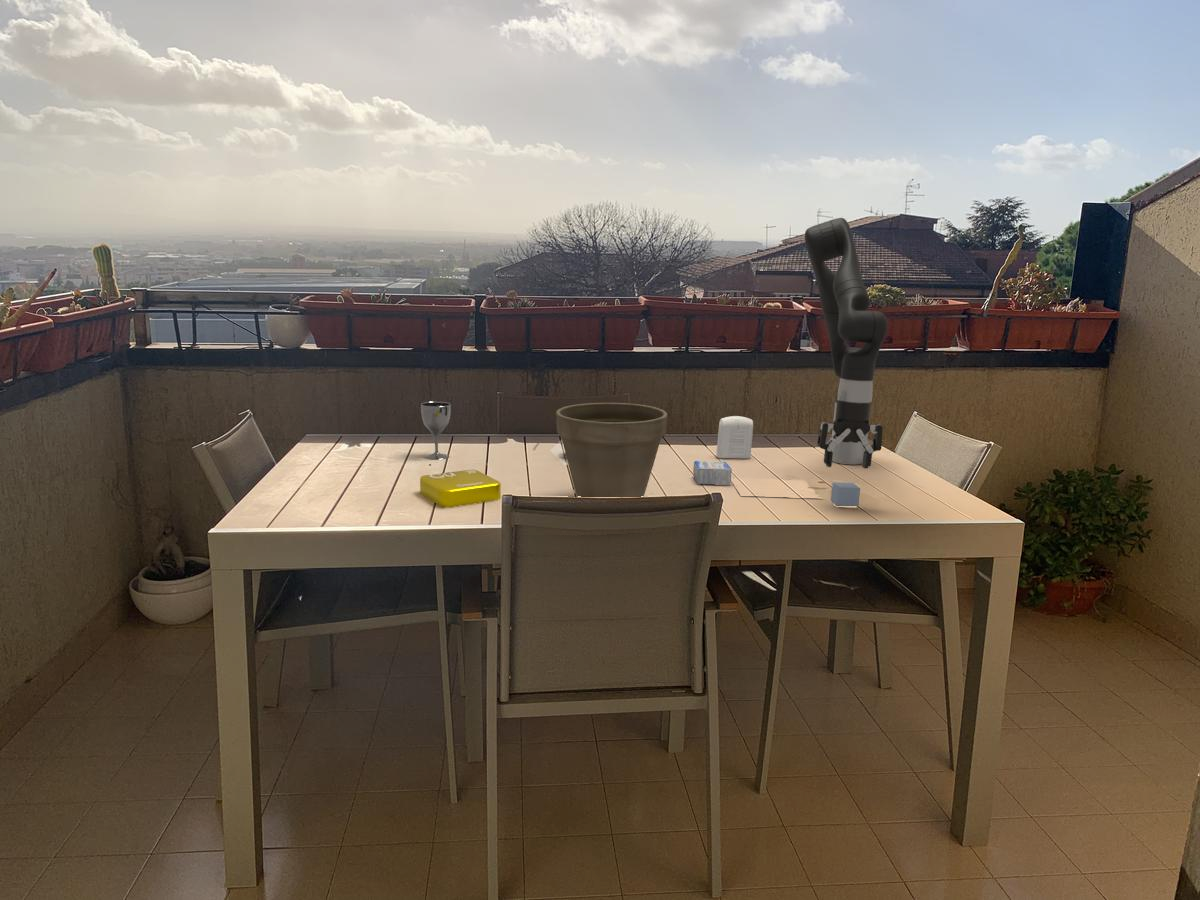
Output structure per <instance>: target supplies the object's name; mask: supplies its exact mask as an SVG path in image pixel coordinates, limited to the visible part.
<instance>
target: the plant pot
mask: <svg viewBox="0 0 1200 900" xmlns="http://www.w3.org/2000/svg"><path fill="white" fill-rule="evenodd" d="M555 417H556V419H555V420H556V432H557V434H558V435H559V436H560V437H561V441H562V445H563V449H564V452H565V453H564V454H565V457H566V460H567V461H566V462H567V463H568V464H567V465H568V469H569V473H570V477H571V480H572V484H573V488H574V491H575V495H576V497H577V496H581V497H641V496H644V497H645V493H646V490H647V487H648V483H649V480H650V477H651V474H652V471H653V467H654V464H655V460H656V458H657V454H658V450H659V447H660V444H661V439H662V438H663V437H664V436H665V435H666V431H667V422H668V413H667V411H665V410H664V409H661V408H658V407H654V406H653V405H652V406H651V405H645V404H637V403H625V402H589V403H577V404H573V405H567V406H563V407H561V408H559V409H557V410H556V412H555Z"/></svg>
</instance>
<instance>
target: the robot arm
mask: <svg viewBox="0 0 1200 900" xmlns="http://www.w3.org/2000/svg"><path fill="white" fill-rule="evenodd" d="M804 242H805V243H804V244H805V247H806V250H807V254H808V257H809V261H810V264H811V268H812V270H813V273H814V277H815V280H816V284H817V285H816V286H817V289H818V294H819V299H820V305H821V310H822V314H823V318H824V322H825V325H826V330H827V335H828V339H829V346H830V353H831V361H832V362H831V363H832V367H833V368H832V369H833V371H834V374H835V376H836V377H838V378H840V379H839V384H838V391H837V393H836V395H835V403H834V410H833V411H834V413H833V422H831V423H830V422H825V421H821V422H820V423H819V430H818V436H817V441H816V445H817V447H818V448H820V449H823V450H824V453H823V454H824V456H823V463H824V464H825V465H826V467H827V468H831V467H832V464H833V463H837V464H841V465H853V466H854V465H862V466H861V467H862V468H863V469H865V470H866V469H869V467H870V466H871V465H872V459H873V453H874V452H877V451H878V452H880V451H881V450H882V447H883V445H882V443H883V442H882V441H883V429H884V428H883V426H882V425H880V424H878V423H875V424H870V417H871V407H872V400H873V391H874V390H873V389H874V388H873V387H874V386H873V384H874V383H873V380H874V374H875V368H876V361H877V358H878V354H879V352H880V349H881V347H882V344H883V342H884V339H885V338H886V335H887V332H888V325H889V324H888V320H887V317H886V315H885V314H884V313H883V312H882V311H879V310H877V311H875V310H868V309H869V308H870V307H869V306H870V302H871V301H870V295H869V294H868V290H867V288H866V286H865V283H864V280H863V277H862V273H861V268H860V263H859V258H858V253H857V252H858V251H857V249H856V244H855V240H854V236H853V233H852V229H851V227H850V225H849V223H848V221H847V220H846V219H845V218H843V217H838V218H833V219H831V220H827V221H824V222H821V223H817V224H815V225H812V226H810V227H808V228H807V229H806V230H805V233H804ZM839 257H842V260H841V262H840V263H839V267H838V269H837V271H836V273H834V272H833V271H832V270H831V269H830V268H829V267H828V265H827V263H825V262H827V261H830V260H833V259H836V258H839ZM847 342H849V343H864V344H863V346H861V347H853V346H849V345H848V343H847ZM830 431H832V432H831V433H832V434H831V437H830V438H829V440H828V441H827V438H828V437H827V436H828V433H829V432H830ZM869 432H871V434H873V435H872V444H870V442H869V440H868V437H869Z"/></svg>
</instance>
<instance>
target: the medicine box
mask: <svg viewBox="0 0 1200 900" xmlns="http://www.w3.org/2000/svg"><path fill="white" fill-rule="evenodd" d="M732 470H733V469H732V467H731V466H730V465H729V463H728V462H727V461H714V460H713V461H712V460H711V461H710V460H709V461H708V460H695V461H694V462H693V470H692V472H693V474H692V475H693V478H694V480H695V482H696V483H697V485H700V484H715V485H714V486H730V485H731V483H732V482H731V477H732ZM716 484H718V485H716Z"/></svg>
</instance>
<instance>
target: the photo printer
mask: <svg viewBox="0 0 1200 900" xmlns="http://www.w3.org/2000/svg"><path fill="white" fill-rule="evenodd" d="M717 431H718V432H717V445H716V458H718V459H747V460H749V459H751V455H752V446H753V445H752V444H753V443H752V442H753V435H754V434H753V433H754V421H753V419H751V418H749V417H745V416H739V415H732V416H730V415H729V416H726V417H722V418H720V420H719V424H718V430H717Z"/></svg>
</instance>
